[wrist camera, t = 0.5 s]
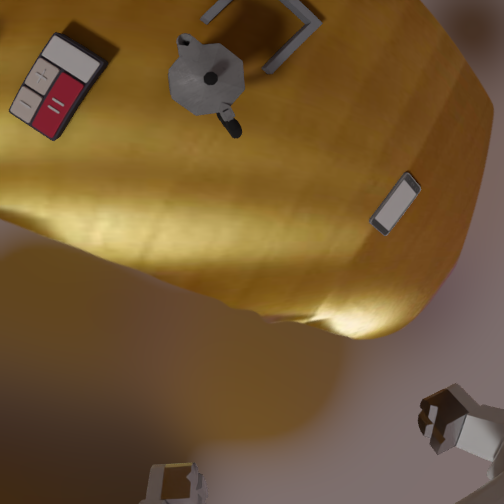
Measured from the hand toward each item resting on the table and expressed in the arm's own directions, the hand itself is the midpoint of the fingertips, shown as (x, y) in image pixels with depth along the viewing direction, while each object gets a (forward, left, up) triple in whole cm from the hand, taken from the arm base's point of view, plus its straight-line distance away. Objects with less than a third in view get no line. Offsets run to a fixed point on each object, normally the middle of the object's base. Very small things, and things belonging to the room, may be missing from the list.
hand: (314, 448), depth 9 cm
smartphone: (+44, +19, -50) cm, 70 cm away
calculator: (-25, -4, -50) cm, 56 cm away
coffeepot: (-5, +9, -50) cm, 51 cm away
